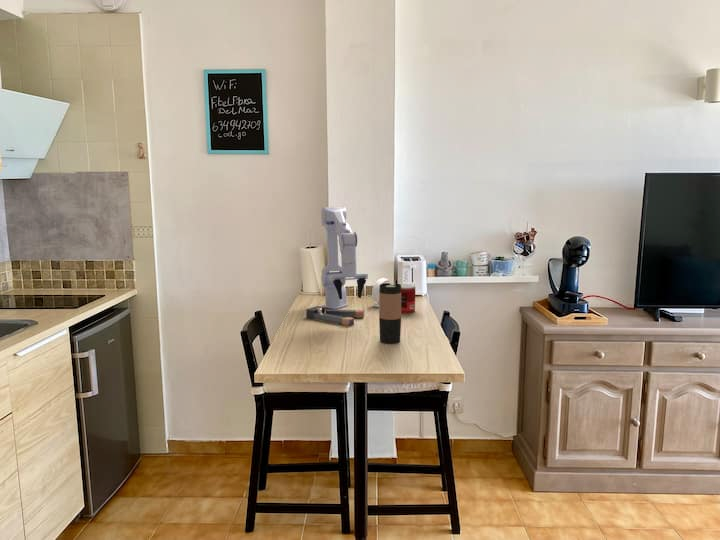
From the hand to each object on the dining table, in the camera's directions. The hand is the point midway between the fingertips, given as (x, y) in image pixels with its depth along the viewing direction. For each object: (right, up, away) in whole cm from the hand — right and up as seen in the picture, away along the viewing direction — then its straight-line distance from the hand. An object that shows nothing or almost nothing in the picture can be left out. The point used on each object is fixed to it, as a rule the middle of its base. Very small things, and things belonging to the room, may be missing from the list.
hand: (350, 298), depth 217 cm
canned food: (+24, -7, +21) cm, 32 cm away
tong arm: (-2, -8, +11) cm, 14 cm away
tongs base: (-7, -9, +6) cm, 13 cm away
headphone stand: (+13, -5, +30) cm, 33 cm away
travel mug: (+14, -14, -21) cm, 29 cm away
